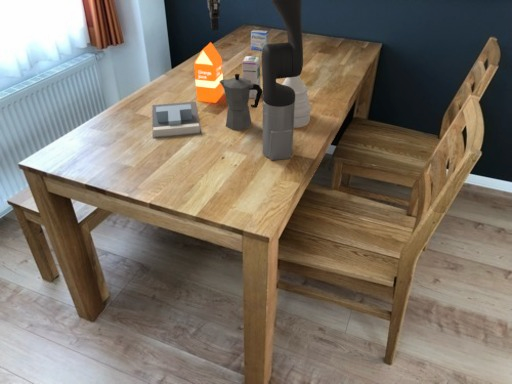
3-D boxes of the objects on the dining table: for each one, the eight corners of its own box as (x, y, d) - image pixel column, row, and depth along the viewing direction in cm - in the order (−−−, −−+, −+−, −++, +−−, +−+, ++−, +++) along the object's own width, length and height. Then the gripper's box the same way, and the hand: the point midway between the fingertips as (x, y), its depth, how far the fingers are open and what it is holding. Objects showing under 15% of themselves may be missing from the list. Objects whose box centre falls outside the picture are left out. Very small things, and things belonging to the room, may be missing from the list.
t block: (157, 117, 155) (155, 106, 152) (191, 114, 157) (190, 104, 154) (157, 133, 145) (156, 122, 143) (194, 129, 147) (192, 119, 145)
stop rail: (199, 132, 146) (199, 125, 144) (154, 136, 143) (153, 130, 142) (199, 129, 147) (198, 123, 146) (154, 134, 145) (153, 127, 143)
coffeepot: (215, 126, 149) (211, 75, 139) (227, 115, 156) (225, 66, 146) (256, 135, 144) (256, 83, 134) (267, 123, 151) (268, 73, 140)
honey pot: (279, 129, 147) (281, 78, 137) (268, 113, 157) (269, 64, 147) (315, 125, 150) (319, 74, 140) (302, 109, 160) (305, 61, 150)
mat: (201, 134, 145) (201, 133, 145) (152, 139, 142) (152, 138, 142) (195, 102, 166) (195, 101, 165) (152, 105, 163) (152, 105, 163)
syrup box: (257, 98, 168) (257, 61, 159) (242, 97, 169) (241, 60, 160) (260, 92, 172) (260, 56, 164) (245, 91, 173) (245, 55, 165)
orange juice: (223, 94, 171) (221, 42, 160) (216, 103, 165) (212, 50, 153) (205, 92, 173) (201, 41, 161) (196, 101, 166) (192, 48, 155)
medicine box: (250, 49, 215) (250, 31, 210) (253, 47, 218) (253, 29, 213) (266, 51, 213) (266, 33, 208) (268, 48, 216) (268, 30, 211)
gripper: (227, -27, 127) (229, 34, 137) (221, -34, 137) (223, 23, 148) (201, -25, 126) (205, 36, 136) (197, -33, 136) (201, 24, 146)
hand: (215, 29), depth 142 cm, fingers closed
